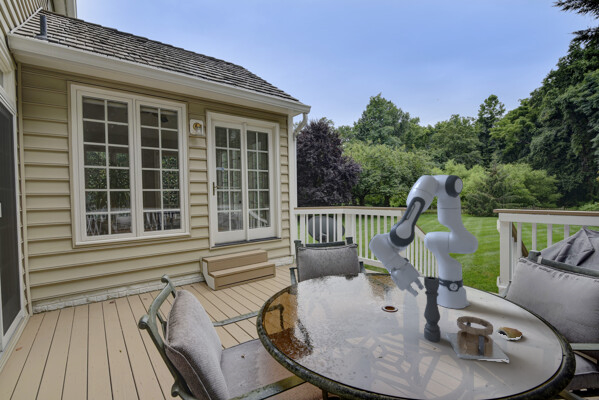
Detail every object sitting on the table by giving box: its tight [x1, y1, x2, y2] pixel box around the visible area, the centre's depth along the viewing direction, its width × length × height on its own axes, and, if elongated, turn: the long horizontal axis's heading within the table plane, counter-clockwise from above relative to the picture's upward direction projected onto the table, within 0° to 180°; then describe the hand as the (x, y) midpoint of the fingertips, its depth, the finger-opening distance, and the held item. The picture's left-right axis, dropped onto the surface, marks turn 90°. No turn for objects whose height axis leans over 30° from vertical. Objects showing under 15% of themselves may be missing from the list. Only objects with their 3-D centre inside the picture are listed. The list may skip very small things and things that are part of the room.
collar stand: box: [445, 315, 510, 361], centre depth 105 cm, size 16×16×10 cm
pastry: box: [495, 326, 523, 338], centre depth 113 cm, size 9×7×4 cm
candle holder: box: [423, 275, 442, 343], centre depth 113 cm, size 6×6×25 cm
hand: (420, 292), depth 115 cm, fingers open, 8 cm apart
